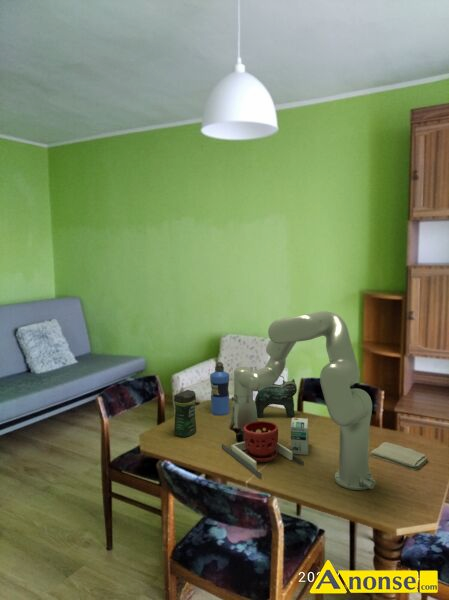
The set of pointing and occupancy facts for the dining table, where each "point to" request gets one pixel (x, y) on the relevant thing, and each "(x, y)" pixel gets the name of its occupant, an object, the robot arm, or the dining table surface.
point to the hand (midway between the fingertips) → (244, 441)
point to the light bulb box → (299, 436)
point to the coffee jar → (185, 413)
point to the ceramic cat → (277, 397)
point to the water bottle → (219, 391)
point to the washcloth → (399, 455)
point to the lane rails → (251, 466)
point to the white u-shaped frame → (238, 451)
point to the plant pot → (261, 440)
